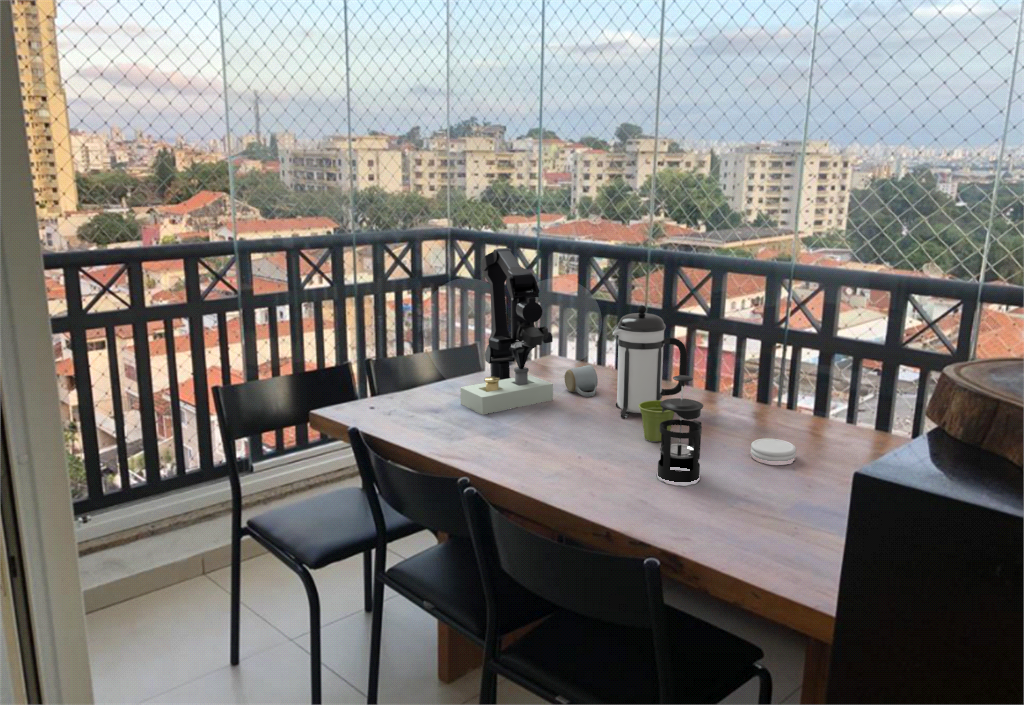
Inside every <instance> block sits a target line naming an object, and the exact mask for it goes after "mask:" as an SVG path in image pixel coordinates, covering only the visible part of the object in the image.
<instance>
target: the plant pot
mask: <svg viewBox="0 0 1024 705" xmlns="http://www.w3.org/2000/svg"><path fill="white" fill-rule="evenodd" d="M662 401H663V400H661V401H658V400H653V401H645V402H642V403H640V404H639V408H640V410H641V413H640V414H641V419H642V428H643V436H644V437H643V438H644V439H645V440H646V439H647V440H646V441H648V440H650V441H649V442H651V441H657V442H660V441H661V433H660V431H659V428H660V423H661V422H663V421H666V420H673V419H674V415H675V414H676V413H675V412H673V411H671V410H665V411H664V412H663V413H662V407H661V405H660V403H661V402H662ZM667 430H669V431H672V425H671V426H667Z"/></svg>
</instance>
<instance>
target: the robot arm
mask: <svg viewBox="0 0 1024 705" xmlns="http://www.w3.org/2000/svg"><path fill="white" fill-rule="evenodd" d="M481 270H482V271H483V276H484V279H485V280H486V281H487V282H488V285H489V291H490V293H489V294H490V303H491V304H490V306H491V307H490V308H491V321H492V332H491V334H490V336H489V338H488V344H487V345H486V346H487V347H486V349H485V352H484V360H485V362H486V363H487V364H489V365H490V377H499V378H500V380H503V379H509V378H512V377H511V376H510V375H511V374H510V373H511V367H510V362H512V363H513V362H514V363H515V362H516V365H517V367H519V369H523V368H524V367H525V365H526V363H527V359H528V357H529V354H530V352H531V351H532V350H533V349H535V348H537V346H542V344H548V343H549V344H550V343H553V341H554V340H553V334H552V332H550V331H549V328H548V327H547V326H538V327H536V326H535V323H536V322H538V321H539V320H540V319H541V318H542V315H543V308H542V306H541V304H539V303H538V302H536V301H537V299H536V298H539V296H540V294H539V293H540V288H539V286H538V282H537V279H536V277H535V275H534V274H533V272H531V271H530V270H529V268H525V267H522V266H521V264H520V263H519V261H517V259H516V258H515V256H514V254H513V251H512V249H511V248H508V247H501V248H499V247H498V248H496V249H494V250H493V251H492V252H489V253H488V254H486V255H484V256H483V258H482V260H481ZM505 283H506V285H505ZM506 288H507V290H508V294H509V296H510V298H511V299H510V318H507V317H508V316H507V301H506V300H507V299H506V298H507V297H506ZM508 323H510V331H509V329H508Z"/></svg>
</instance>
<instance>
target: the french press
mask: <svg viewBox="0 0 1024 705" xmlns="http://www.w3.org/2000/svg"><path fill="white" fill-rule="evenodd" d="M672 379H673V380H674V381H676V382H678V381H680V386H682V388H681V391H680V392H681V395H680V397H679V398H678V397H677V398H667V399H664V400H661V401H662V402H661V403H660V405H661V407H662V413H663V412H664V411H665V410H671V411H673V412H675V413H674V414H676V415H678V417H679V419H678V418H677V419H674V418H673V420H666V421H663V422H661V423H660V428H659V431H660V433H661V442H660V448H659V450H660V459H659V460H658V461H657V472H658V476H659V477H661V478H662V479H665V480H669V481H674V482H691V481H694V480H697V479H698V478H699V475H700V471H701V469H700V468H701V463H700V462H699V460H700V458H701V456H700V455H701V440H702V438H701V437H702V433H703V432H702V430H703V427H702V421H699V420H696V419H698V418H700V417H701V415H702V414H701V410H702V409H704V405H703V403H702V402H700V401H697V400H695V399H689V398H684V387H685V384H686V382H692V381H693V377H691V376H690V375H686V376H685V375H679V374H678V375H675V376H673V377H672ZM683 386H684V387H683ZM667 426H671V427H672V426H679V431H672V430H671V431H669V430H667ZM682 426H685V427H688V432H682ZM672 438H673V439H678V443H672ZM685 439H688V441H687V442H688V443H687V444H685V443H681V441H682V440H685ZM670 467H680V468H687V469H690V471H675V470H670Z"/></svg>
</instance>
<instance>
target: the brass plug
mask: <svg viewBox="0 0 1024 705" xmlns="http://www.w3.org/2000/svg"><path fill="white" fill-rule="evenodd" d="M484 381H485V382H484V383H486V392H489V391H495V390H499V383H498V381H500V378H499V377H491V376H486V377H484Z"/></svg>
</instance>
